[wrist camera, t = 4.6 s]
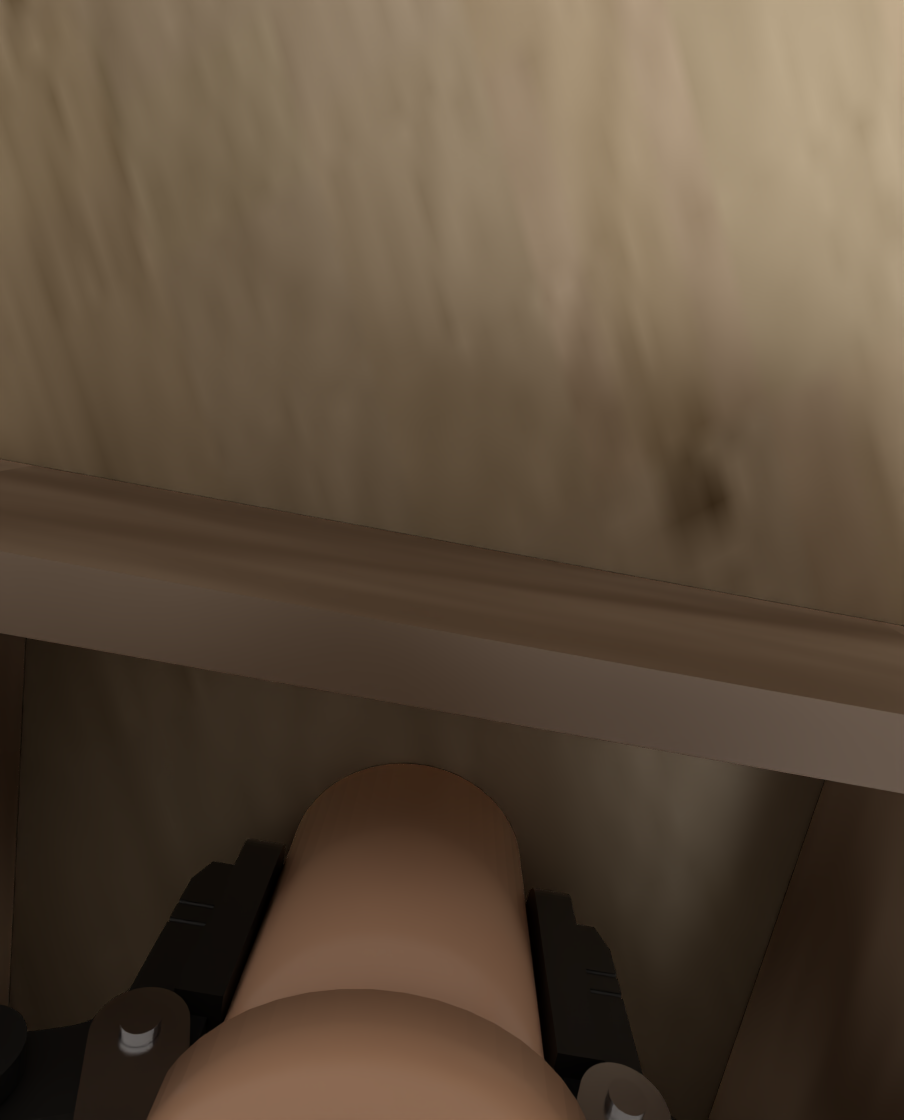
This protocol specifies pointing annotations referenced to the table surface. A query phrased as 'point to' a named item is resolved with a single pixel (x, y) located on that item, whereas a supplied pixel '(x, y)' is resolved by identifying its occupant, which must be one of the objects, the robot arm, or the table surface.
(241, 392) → the table surface
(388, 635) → the hinged wooden box
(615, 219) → the table surface
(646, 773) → the table surface
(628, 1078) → the robot arm
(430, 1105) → the round cabinet knob
